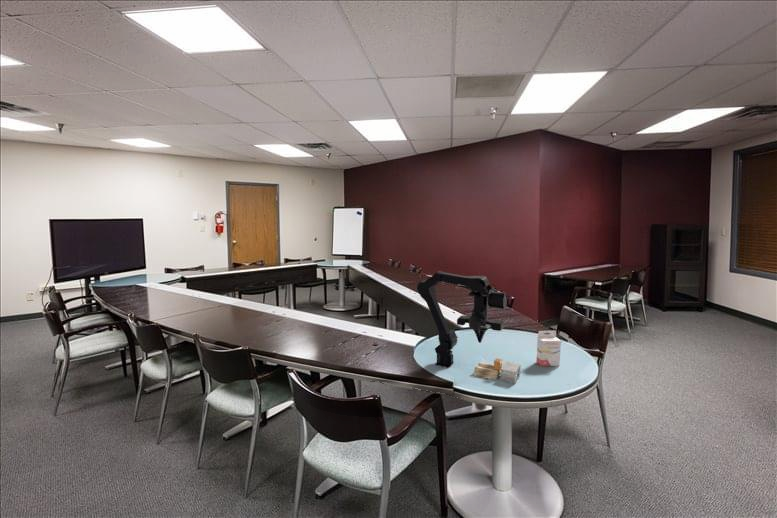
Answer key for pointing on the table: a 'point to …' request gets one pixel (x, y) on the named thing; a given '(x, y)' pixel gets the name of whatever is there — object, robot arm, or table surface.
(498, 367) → the lock bolt
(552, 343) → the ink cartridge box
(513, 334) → the table surface
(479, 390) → the table surface
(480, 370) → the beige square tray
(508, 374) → the block
